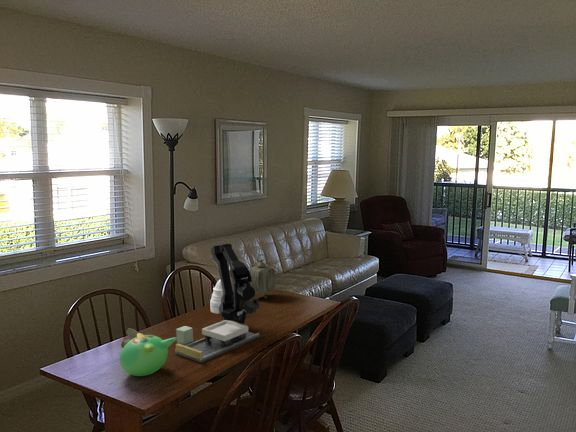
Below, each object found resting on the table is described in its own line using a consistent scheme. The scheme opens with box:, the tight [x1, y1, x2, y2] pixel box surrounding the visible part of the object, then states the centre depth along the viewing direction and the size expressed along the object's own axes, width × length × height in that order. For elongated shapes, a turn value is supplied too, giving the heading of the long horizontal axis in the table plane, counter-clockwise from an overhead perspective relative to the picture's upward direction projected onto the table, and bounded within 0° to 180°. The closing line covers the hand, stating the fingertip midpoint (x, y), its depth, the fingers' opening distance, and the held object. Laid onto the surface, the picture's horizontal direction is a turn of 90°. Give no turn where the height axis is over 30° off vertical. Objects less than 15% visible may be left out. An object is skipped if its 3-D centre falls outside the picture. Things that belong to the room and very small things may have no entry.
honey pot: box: [209, 278, 223, 315], centre depth 257 cm, size 13×13×18 cm
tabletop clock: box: [248, 253, 276, 300], centre depth 276 cm, size 14×9×25 cm, turn 145°
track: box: [174, 331, 261, 364], centre depth 210 cm, size 16×34×4 cm, turn 141°
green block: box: [175, 325, 194, 346], centre depth 214 cm, size 5×5×6 cm
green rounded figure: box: [119, 332, 177, 377], centre depth 183 cm, size 18×17×15 cm
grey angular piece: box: [120, 328, 139, 349], centre depth 207 cm, size 9×6×10 cm
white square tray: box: [201, 320, 249, 346], centre depth 213 cm, size 14×15×5 cm
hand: (241, 327), depth 220 cm, fingers closed
